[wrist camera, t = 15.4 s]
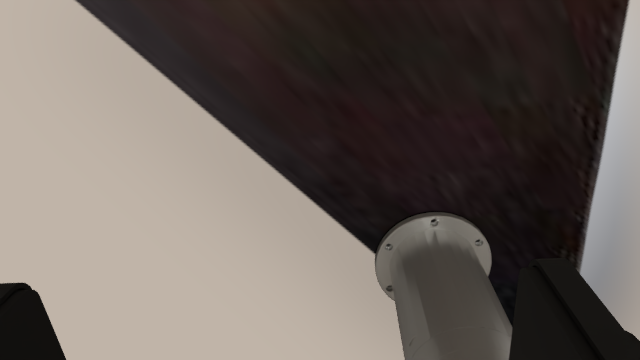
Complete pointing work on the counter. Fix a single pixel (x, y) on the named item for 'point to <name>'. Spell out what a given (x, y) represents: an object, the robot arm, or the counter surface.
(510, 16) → the counter surface
